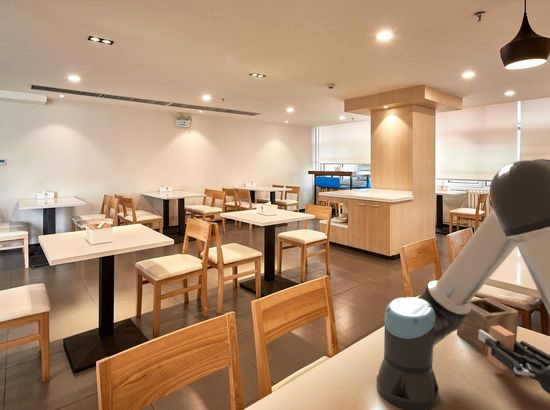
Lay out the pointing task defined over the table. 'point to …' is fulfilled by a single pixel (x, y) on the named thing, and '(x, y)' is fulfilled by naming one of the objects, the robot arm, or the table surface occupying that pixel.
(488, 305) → the tip box
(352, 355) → the table surface
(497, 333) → the tall salmon pillar block
